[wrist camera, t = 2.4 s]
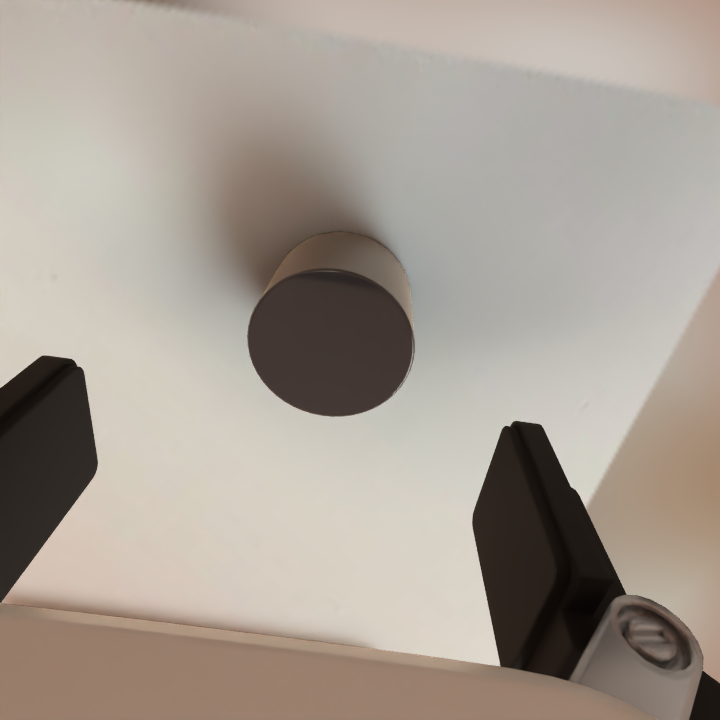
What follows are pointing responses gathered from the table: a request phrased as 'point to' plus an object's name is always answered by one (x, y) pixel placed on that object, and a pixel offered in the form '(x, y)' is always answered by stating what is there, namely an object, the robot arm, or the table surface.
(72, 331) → the table surface
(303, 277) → the dark brown puck
